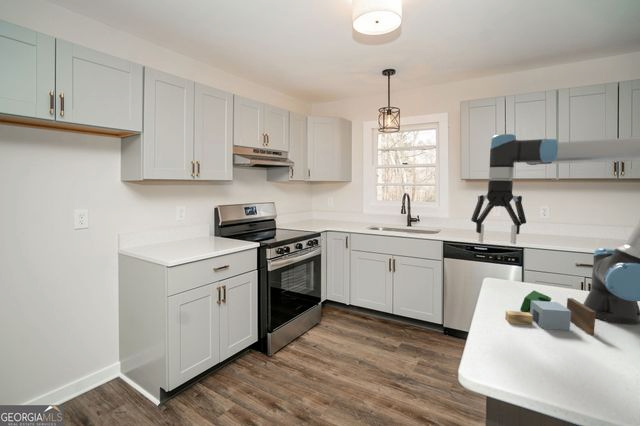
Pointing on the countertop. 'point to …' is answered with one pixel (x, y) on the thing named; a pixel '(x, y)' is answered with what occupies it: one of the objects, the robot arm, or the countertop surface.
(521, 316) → the tan rectangular bar
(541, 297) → the clamp
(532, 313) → the block
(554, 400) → the countertop surface
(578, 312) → the wall
